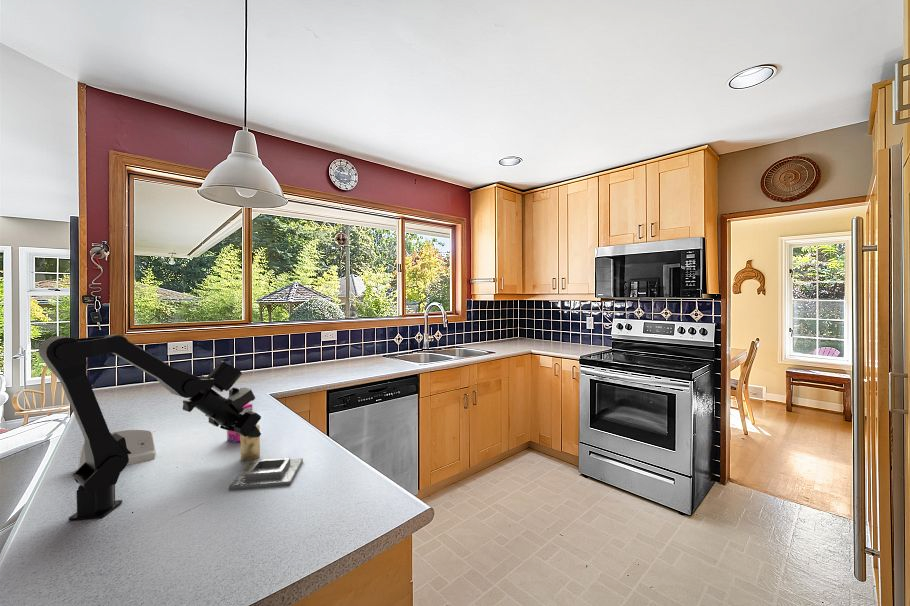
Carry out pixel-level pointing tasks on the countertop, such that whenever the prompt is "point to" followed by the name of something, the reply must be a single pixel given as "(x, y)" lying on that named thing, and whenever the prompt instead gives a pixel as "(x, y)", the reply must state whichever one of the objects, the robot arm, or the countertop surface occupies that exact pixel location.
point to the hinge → (134, 446)
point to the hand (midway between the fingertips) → (254, 433)
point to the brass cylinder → (250, 447)
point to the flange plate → (267, 473)
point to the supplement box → (232, 434)
